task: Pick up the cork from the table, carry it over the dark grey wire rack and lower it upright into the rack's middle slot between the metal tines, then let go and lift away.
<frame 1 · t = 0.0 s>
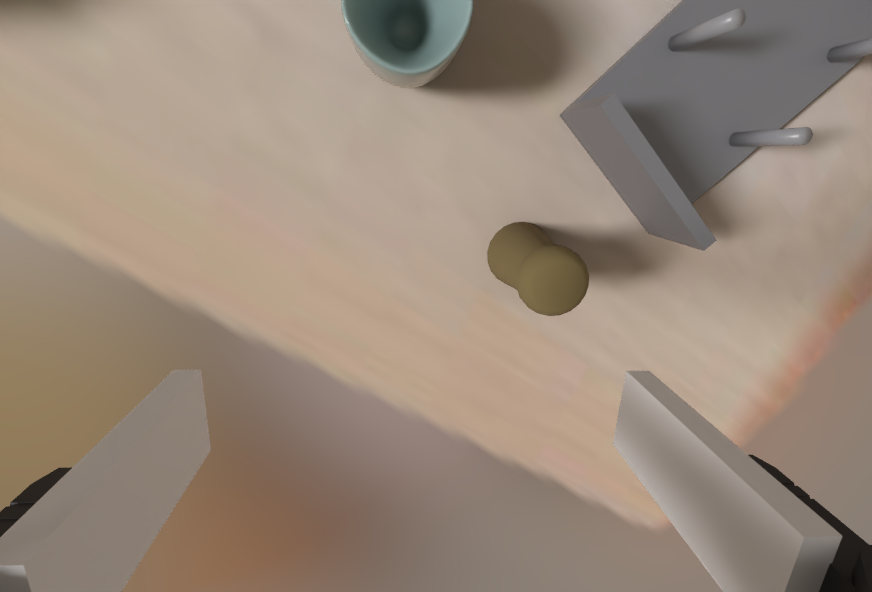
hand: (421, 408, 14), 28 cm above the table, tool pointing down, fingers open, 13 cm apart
rack: (747, 51, 38), on the table
cup: (405, 42, 36), on the table
cork: (518, 253, 42), on the table
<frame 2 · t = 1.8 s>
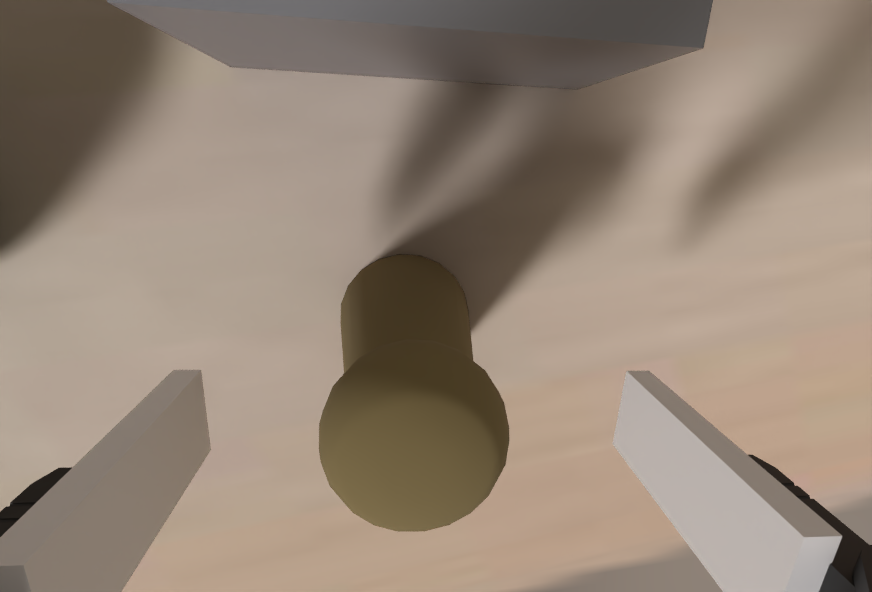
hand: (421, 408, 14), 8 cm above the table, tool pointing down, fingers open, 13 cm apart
cork: (404, 315, 21), on the table
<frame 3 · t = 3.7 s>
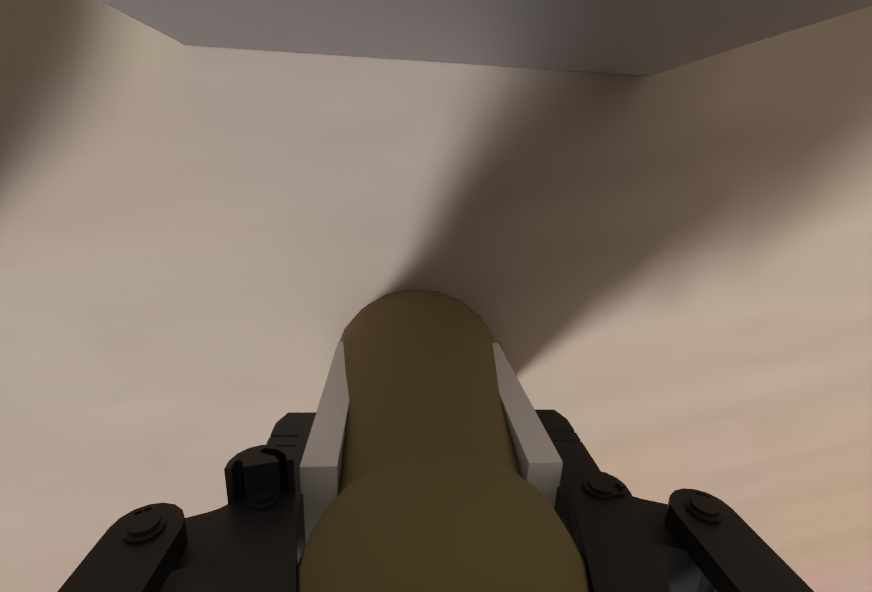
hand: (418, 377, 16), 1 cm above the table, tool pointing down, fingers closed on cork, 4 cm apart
cork: (416, 364, 17), on the table, touching gripper
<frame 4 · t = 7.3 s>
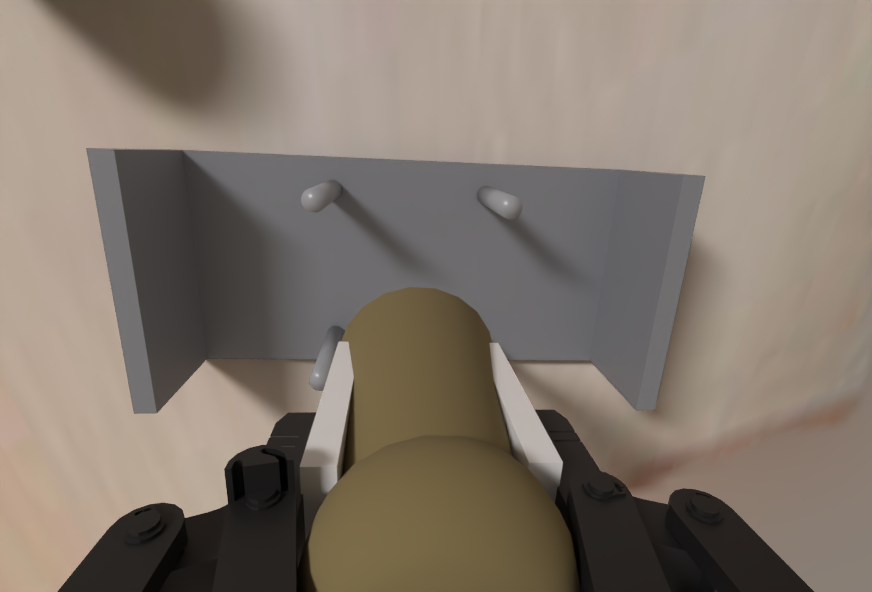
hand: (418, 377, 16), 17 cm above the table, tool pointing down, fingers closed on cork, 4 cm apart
rack: (408, 263, 32), on the table
cork: (416, 359, 18), point 15 cm above the table, touching gripper
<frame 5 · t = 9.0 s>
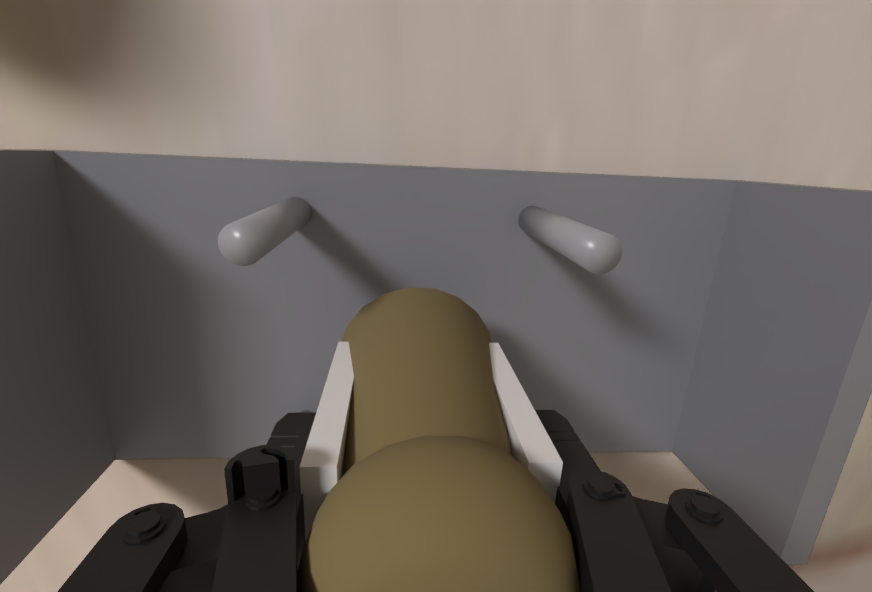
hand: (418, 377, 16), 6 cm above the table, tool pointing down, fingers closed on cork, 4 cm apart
rack: (413, 318, 22), on the table
cork: (416, 359, 18), point 4 cm above the table, touching gripper
when the fingers open (3 cm above the table, at t = 10.2 s): cork moves 1 cm, resting on rack.
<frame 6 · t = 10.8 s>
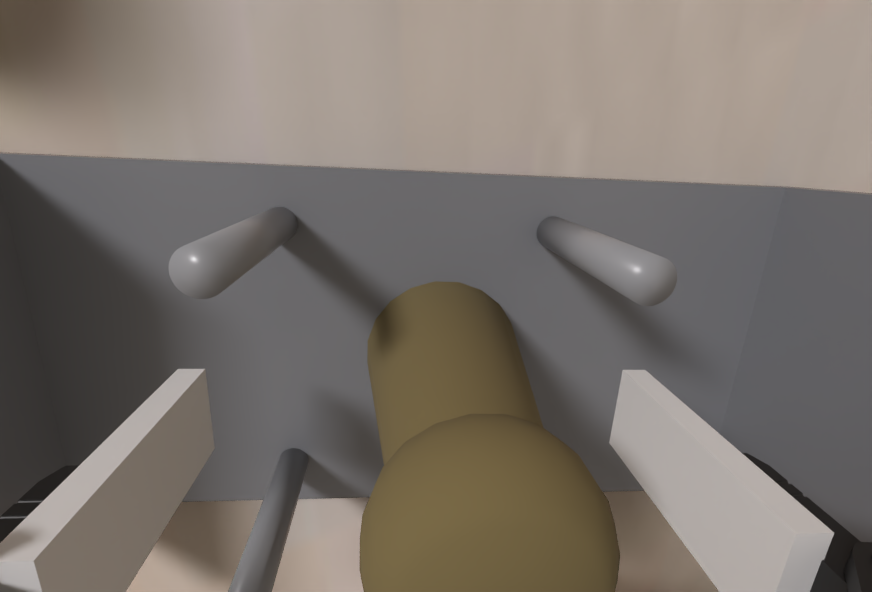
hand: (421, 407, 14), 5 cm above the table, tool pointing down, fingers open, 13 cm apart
rack: (414, 342, 19), on the table
cork: (441, 350, 18), point 1 cm above the table, touching rack
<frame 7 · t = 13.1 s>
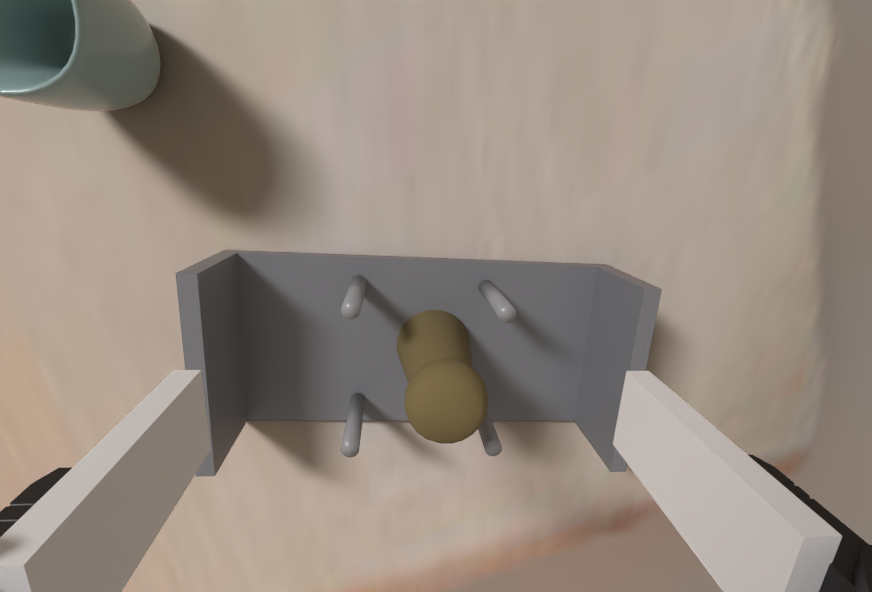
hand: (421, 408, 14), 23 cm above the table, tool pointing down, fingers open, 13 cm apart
rack: (419, 339, 38), on the table
cup: (119, 58, 30), on the table
cork: (433, 343, 37), point 1 cm above the table, touching rack
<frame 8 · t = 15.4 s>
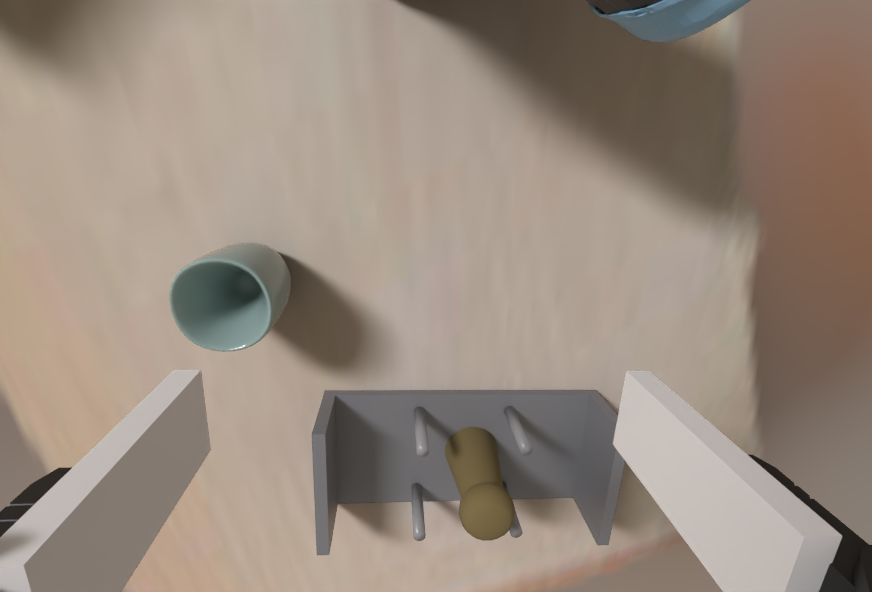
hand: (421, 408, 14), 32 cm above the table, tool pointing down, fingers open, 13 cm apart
rack: (460, 444, 52), on the table
cup: (259, 273, 44), on the table
cork: (470, 448, 51), point 1 cm above the table, touching rack
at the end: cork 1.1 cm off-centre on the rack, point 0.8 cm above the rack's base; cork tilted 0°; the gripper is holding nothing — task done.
